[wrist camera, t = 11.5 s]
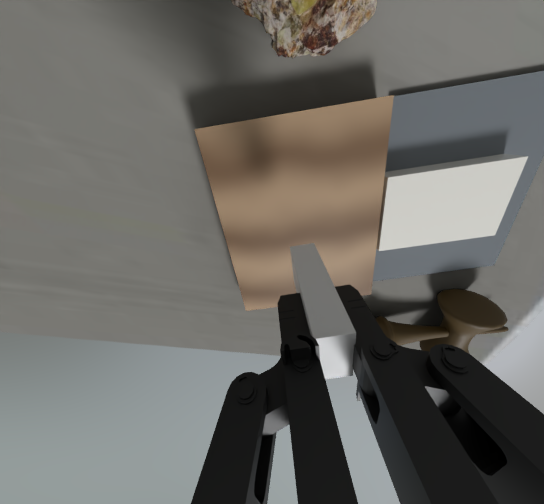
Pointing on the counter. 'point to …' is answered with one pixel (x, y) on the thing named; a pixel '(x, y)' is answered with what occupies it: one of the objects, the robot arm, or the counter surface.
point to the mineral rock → (308, 22)
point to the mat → (464, 157)
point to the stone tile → (446, 201)
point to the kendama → (451, 322)
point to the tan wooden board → (300, 193)
